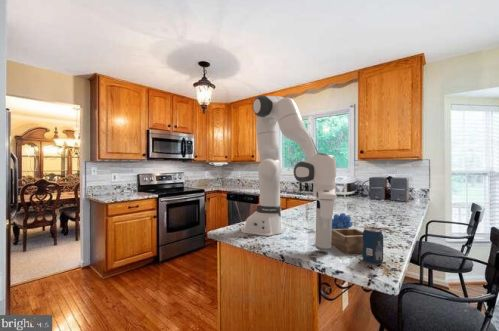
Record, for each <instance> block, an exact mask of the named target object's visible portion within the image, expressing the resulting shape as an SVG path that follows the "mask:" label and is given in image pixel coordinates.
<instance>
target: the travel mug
mask: <svg viewBox="0 0 499 331" xmlns="http://www.w3.org/2000/svg"><path fill="white" fill-rule="evenodd" d="M332 219H333V218H332ZM332 219H331V220H328V224H327V229H323V228H322V218H321V216H320V202H319V200H316V208H315V241H314V246H315V249H316V250H319V251H321V252H322V251H323V252H328V251H331V250H332V245H331V235H332Z"/></svg>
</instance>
